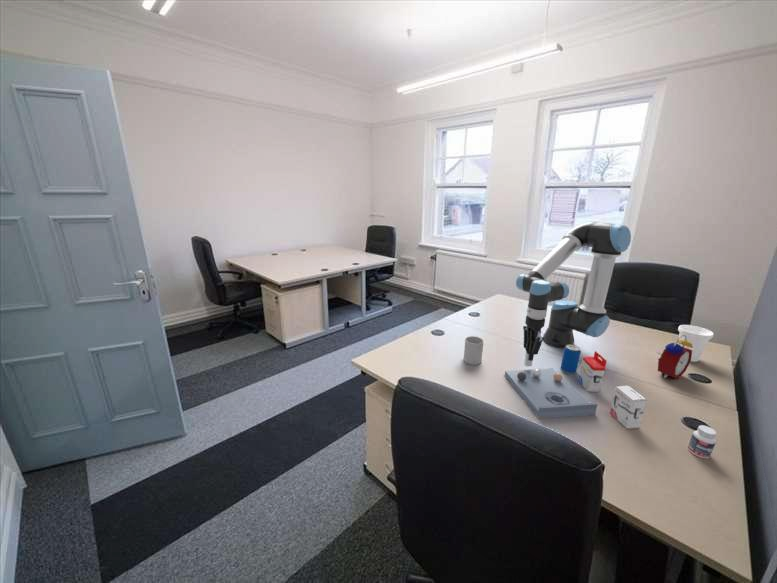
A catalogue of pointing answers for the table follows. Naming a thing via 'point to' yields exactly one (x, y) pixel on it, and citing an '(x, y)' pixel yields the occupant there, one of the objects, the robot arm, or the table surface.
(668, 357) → the alarm clock
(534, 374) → the steel ball
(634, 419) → the ink box
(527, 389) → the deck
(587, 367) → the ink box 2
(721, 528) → the table surface
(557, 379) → the terracotta ball
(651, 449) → the table surface
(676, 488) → the table surface
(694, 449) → the pill bottle
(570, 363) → the beverage can
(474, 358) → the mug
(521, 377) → the rubber ball
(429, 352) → the table surface
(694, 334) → the cup
